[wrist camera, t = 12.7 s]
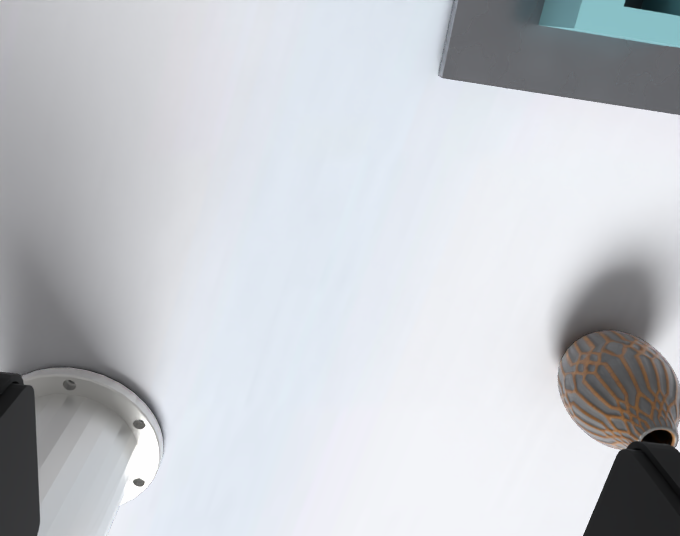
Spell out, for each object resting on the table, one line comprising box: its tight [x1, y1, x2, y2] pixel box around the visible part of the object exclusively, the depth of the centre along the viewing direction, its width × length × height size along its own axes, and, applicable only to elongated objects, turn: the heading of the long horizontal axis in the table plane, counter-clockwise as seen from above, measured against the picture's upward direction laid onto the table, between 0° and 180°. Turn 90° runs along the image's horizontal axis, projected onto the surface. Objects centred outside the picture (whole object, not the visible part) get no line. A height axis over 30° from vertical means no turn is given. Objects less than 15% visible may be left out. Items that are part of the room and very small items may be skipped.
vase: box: [558, 330, 680, 450], centre depth 37 cm, size 7×7×9 cm
